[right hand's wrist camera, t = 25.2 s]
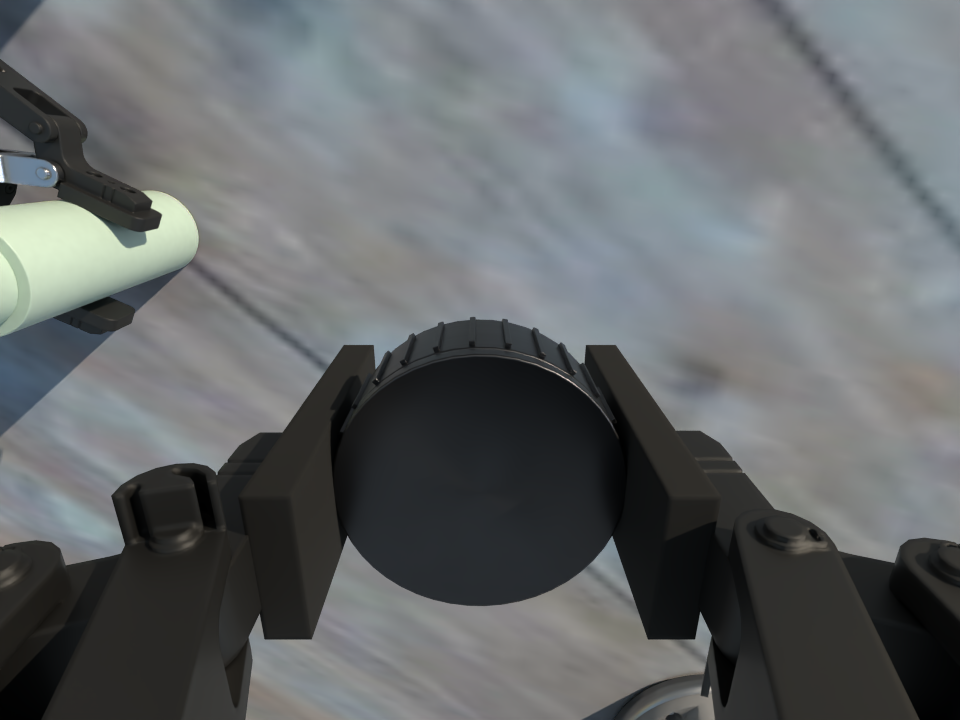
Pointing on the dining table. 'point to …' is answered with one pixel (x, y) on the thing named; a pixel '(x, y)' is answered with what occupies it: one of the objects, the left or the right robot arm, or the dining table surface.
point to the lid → (479, 465)
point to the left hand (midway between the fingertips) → (136, 273)
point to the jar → (82, 256)
